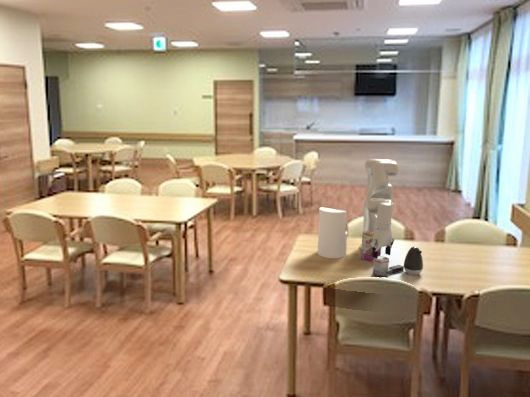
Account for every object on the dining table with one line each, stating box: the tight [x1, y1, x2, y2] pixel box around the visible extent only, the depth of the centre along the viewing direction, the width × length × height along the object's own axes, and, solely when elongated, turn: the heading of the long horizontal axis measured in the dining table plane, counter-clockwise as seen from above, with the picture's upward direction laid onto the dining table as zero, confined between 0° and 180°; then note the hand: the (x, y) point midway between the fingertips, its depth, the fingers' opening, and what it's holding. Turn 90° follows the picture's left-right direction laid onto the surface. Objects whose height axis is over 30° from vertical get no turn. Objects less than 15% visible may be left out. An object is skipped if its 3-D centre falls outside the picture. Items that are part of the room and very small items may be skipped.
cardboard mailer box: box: [372, 255, 390, 273], centre depth 270 cm, size 6×6×7 cm
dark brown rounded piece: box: [403, 246, 424, 276], centre depth 274 cm, size 10×10×15 cm
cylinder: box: [317, 206, 348, 259], centre depth 303 cm, size 17×17×28 cm
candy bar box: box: [360, 231, 382, 262], centre depth 295 cm, size 11×5×16 cm, turn 71°
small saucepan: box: [372, 264, 405, 278], centre depth 274 cm, size 20×8×7 cm, turn 123°
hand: (381, 256), depth 269 cm, fingers open, 9 cm apart
